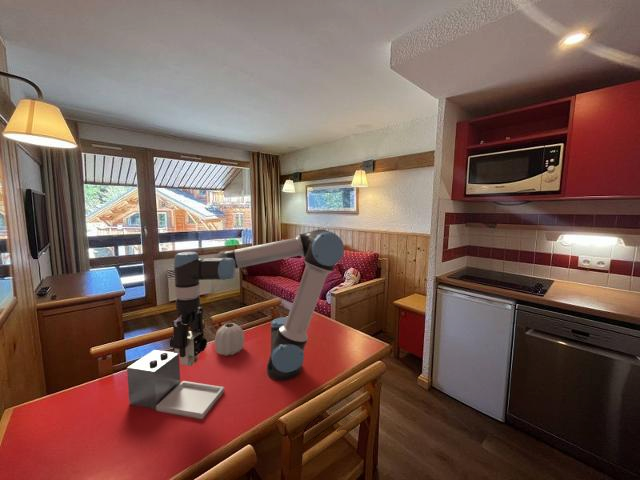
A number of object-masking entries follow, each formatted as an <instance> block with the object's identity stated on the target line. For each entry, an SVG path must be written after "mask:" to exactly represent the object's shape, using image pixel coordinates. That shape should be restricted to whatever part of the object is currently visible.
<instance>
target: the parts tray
mask: <svg viewBox="0 0 640 480" xmlns="http://www.w3.org/2000/svg"><path fill="white" fill-rule="evenodd" d="M224 393H225V386H221V385H212V384H208V383H207V384H205V383H200V382H193V381H187V380H183V381H180V384H179V385H178V386H177V387H176V388H175V389H174V390H173V391H172V392H171V393H169V394H168V395H167V396H166V397H165V398H164V399H163V400H162V401H161V402H160V403H159V404H158V405H156V409H155V411H156V412H159V413H160V412H161V413H166V414H171V415H176V416H182V417H186V418H194V419H200V420H203V419H204V418H205V417H206V415H207V414H208V413H209V412H210V410H211V409H212V408H213V406H215V404H216V403H218V402H217V401H218V400H219V399H220V398H221V396H222V395H223V394H224Z"/></svg>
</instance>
